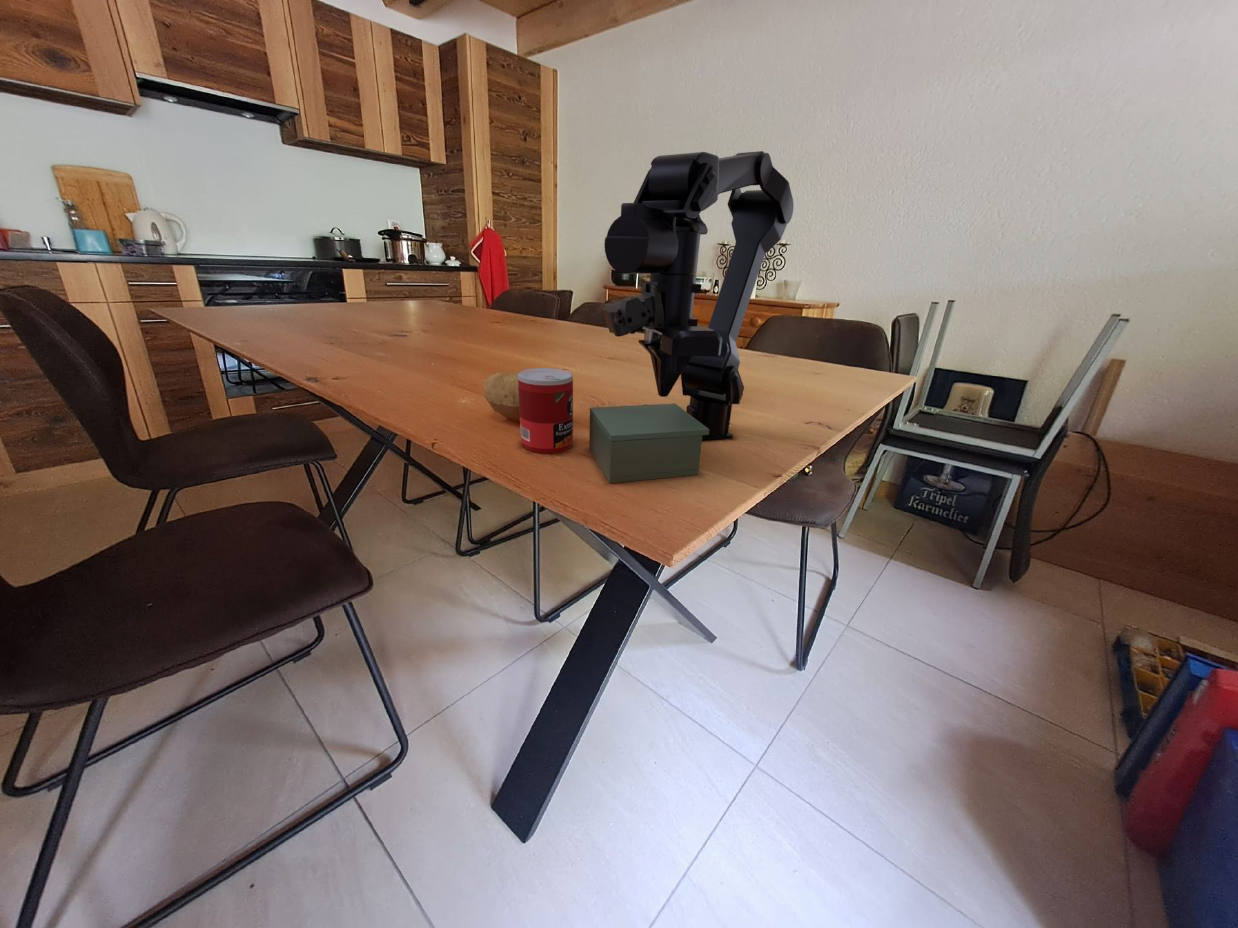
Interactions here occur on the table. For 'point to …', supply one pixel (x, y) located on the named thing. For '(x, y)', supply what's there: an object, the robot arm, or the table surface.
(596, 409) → the lid
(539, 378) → the canned food
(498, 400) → the potato
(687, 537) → the table surface
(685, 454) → the chest
